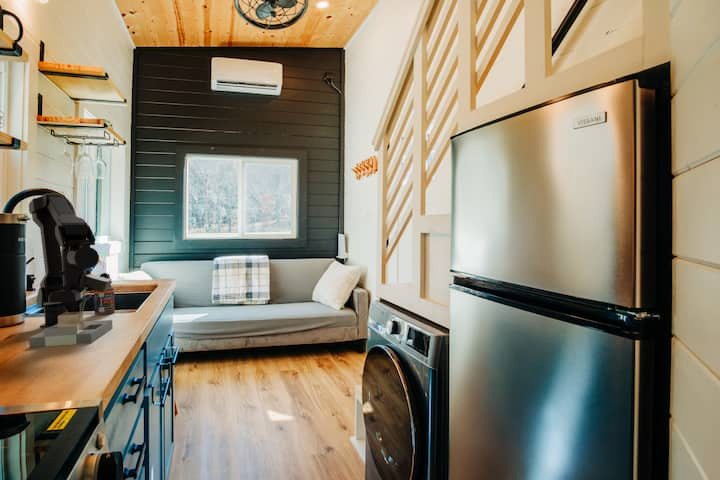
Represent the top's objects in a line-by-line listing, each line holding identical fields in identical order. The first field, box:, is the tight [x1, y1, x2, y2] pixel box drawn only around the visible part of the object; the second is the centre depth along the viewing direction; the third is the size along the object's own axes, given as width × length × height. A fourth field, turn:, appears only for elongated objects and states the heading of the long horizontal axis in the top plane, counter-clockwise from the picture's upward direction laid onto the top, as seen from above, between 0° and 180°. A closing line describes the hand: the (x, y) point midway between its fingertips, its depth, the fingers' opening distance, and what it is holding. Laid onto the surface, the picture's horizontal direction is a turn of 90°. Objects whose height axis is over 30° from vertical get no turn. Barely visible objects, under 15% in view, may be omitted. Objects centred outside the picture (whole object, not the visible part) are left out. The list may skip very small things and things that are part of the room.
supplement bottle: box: [93, 284, 116, 316], centre depth 147 cm, size 6×6×11 cm
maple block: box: [58, 310, 85, 331], centre depth 115 cm, size 4×4×4 cm
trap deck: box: [28, 319, 113, 349], centre depth 116 cm, size 16×14×4 cm
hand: (77, 322), depth 119 cm, fingers closed
